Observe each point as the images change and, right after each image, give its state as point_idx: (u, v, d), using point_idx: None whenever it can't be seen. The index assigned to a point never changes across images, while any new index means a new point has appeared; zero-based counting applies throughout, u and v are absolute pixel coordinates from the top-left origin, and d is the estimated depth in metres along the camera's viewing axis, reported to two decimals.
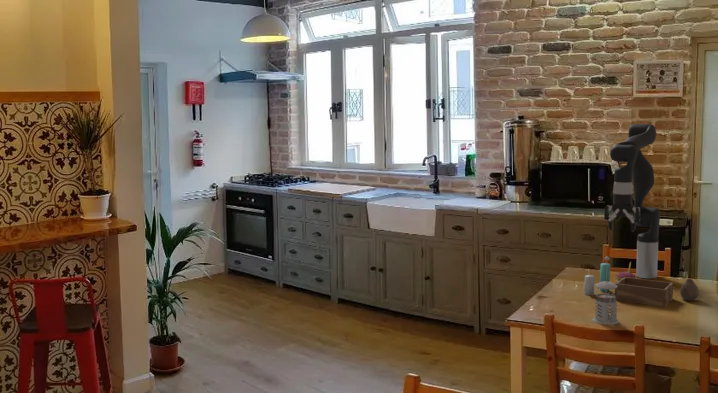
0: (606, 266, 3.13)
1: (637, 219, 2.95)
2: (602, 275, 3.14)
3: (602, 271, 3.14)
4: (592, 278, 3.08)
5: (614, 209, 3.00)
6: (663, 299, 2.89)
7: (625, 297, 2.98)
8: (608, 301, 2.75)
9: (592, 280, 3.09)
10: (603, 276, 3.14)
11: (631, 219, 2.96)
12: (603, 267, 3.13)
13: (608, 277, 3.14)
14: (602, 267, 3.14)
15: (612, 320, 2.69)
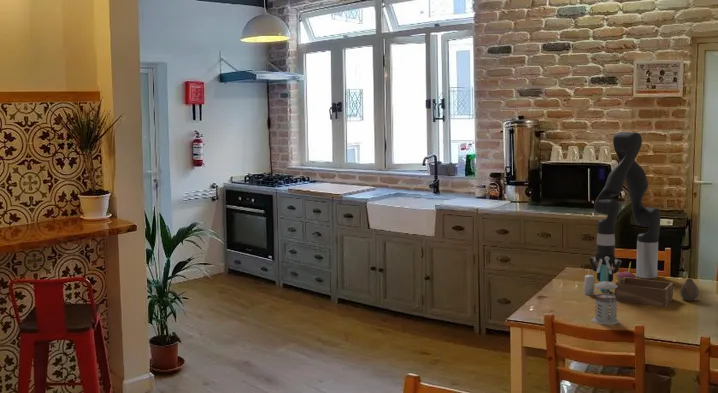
0: (606, 266, 3.13)
1: (614, 271, 3.11)
2: (602, 275, 3.14)
3: (602, 271, 3.14)
4: (592, 278, 3.08)
5: (598, 260, 3.15)
6: (663, 299, 2.89)
7: (625, 297, 2.98)
8: (608, 301, 2.75)
9: (592, 280, 3.09)
10: (603, 276, 3.14)
11: (609, 270, 3.13)
12: (603, 267, 3.13)
13: (608, 277, 3.14)
14: (602, 267, 3.14)
15: (612, 320, 2.69)
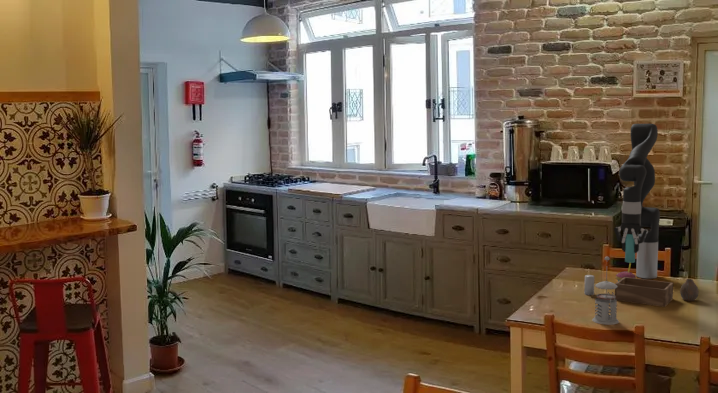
0: (632, 236, 3.00)
1: (640, 240, 2.98)
2: (627, 245, 3.01)
3: (627, 241, 3.01)
4: (592, 278, 3.08)
5: (623, 230, 3.02)
6: (663, 299, 2.89)
7: (625, 297, 2.98)
8: (608, 301, 2.75)
9: (592, 280, 3.09)
10: (628, 246, 3.01)
11: (634, 240, 3.00)
12: (628, 237, 3.00)
13: None
14: (627, 237, 3.01)
15: (612, 320, 2.69)
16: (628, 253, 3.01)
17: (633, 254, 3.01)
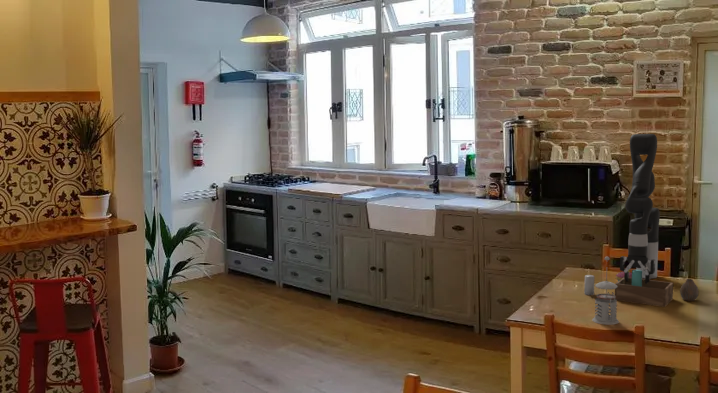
0: (638, 273, 2.99)
1: (651, 271, 2.97)
2: (634, 282, 3.01)
3: (634, 278, 3.00)
4: (592, 278, 3.08)
5: (629, 260, 3.01)
6: (663, 299, 2.89)
7: (625, 297, 2.98)
8: (608, 301, 2.75)
9: (592, 280, 3.09)
10: (634, 283, 3.00)
11: (645, 271, 2.98)
12: (635, 274, 3.00)
13: (640, 284, 3.00)
14: (634, 274, 3.00)
15: (612, 320, 2.69)
16: None
17: None
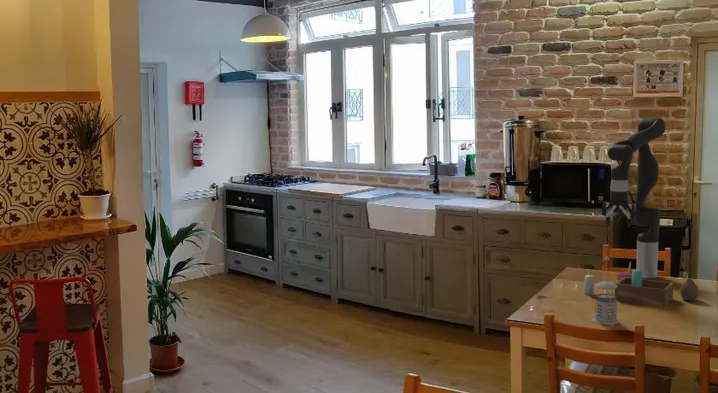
0: (638, 273, 2.99)
1: (633, 215, 3.12)
2: (634, 282, 3.01)
3: (634, 278, 3.00)
4: (592, 278, 3.08)
5: (611, 205, 3.17)
6: (663, 299, 2.89)
7: (625, 297, 2.98)
8: (608, 301, 2.75)
9: (592, 280, 3.09)
10: (634, 283, 3.00)
11: (627, 215, 3.13)
12: (635, 274, 3.00)
13: (640, 284, 3.00)
14: (634, 274, 3.00)
15: (612, 320, 2.69)
16: None
17: None
